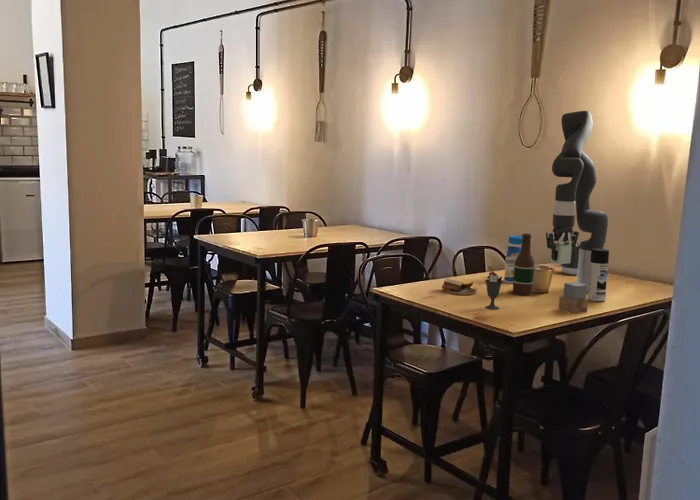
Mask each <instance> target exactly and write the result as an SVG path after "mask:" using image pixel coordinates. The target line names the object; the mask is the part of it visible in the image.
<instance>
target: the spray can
mask: <svg viewBox="0 0 700 500" xmlns="http://www.w3.org/2000/svg"><path fill="white" fill-rule="evenodd" d="M609 258H610V250H609V249H606V248H603V249H599V248H595V249H592V250H591V259H590V271H589V284H588V292H587V295H586V299H588V301H592V302H596V301H598V303H600V302H601V301H602V302H605V301H606V296H607V294H606V293H607V285H608V273H609Z"/></svg>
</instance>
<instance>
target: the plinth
mask: <svg viewBox="0 0 700 500" xmlns="http://www.w3.org/2000/svg"><path fill="white" fill-rule="evenodd" d="M558 300H559V301H558V310H559V309H560V311H563V312H566V311H567V312H566V313H569V312H570V313H569V314H572V313H573V315H575V314H581V313H582V312H583V313H587V312H588V308H589V307H588V305H589V300H588V298H586V299H578V300H573V299H570V298H567V297H563V295H560V296H559V299H558ZM574 313H575V314H574Z"/></svg>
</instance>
